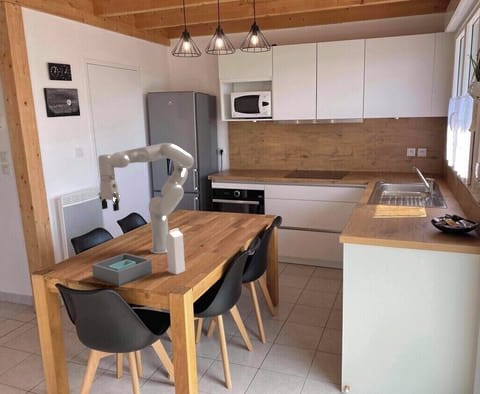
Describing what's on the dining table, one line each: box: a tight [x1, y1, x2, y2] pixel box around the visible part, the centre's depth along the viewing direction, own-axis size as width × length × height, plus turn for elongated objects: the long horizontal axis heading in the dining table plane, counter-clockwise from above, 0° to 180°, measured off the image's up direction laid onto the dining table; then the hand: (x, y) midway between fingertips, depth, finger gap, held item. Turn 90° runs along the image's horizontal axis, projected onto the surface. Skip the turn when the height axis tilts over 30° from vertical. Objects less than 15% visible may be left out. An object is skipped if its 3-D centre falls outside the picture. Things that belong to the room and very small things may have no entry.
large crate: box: [91, 252, 153, 288], centre depth 206 cm, size 20×20×7 cm
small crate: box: [108, 260, 136, 271], centre depth 206 cm, size 11×7×5 cm, turn 144°
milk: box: [166, 227, 186, 275], centre depth 208 cm, size 6×6×22 cm
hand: (110, 209), depth 225 cm, fingers open, 9 cm apart
